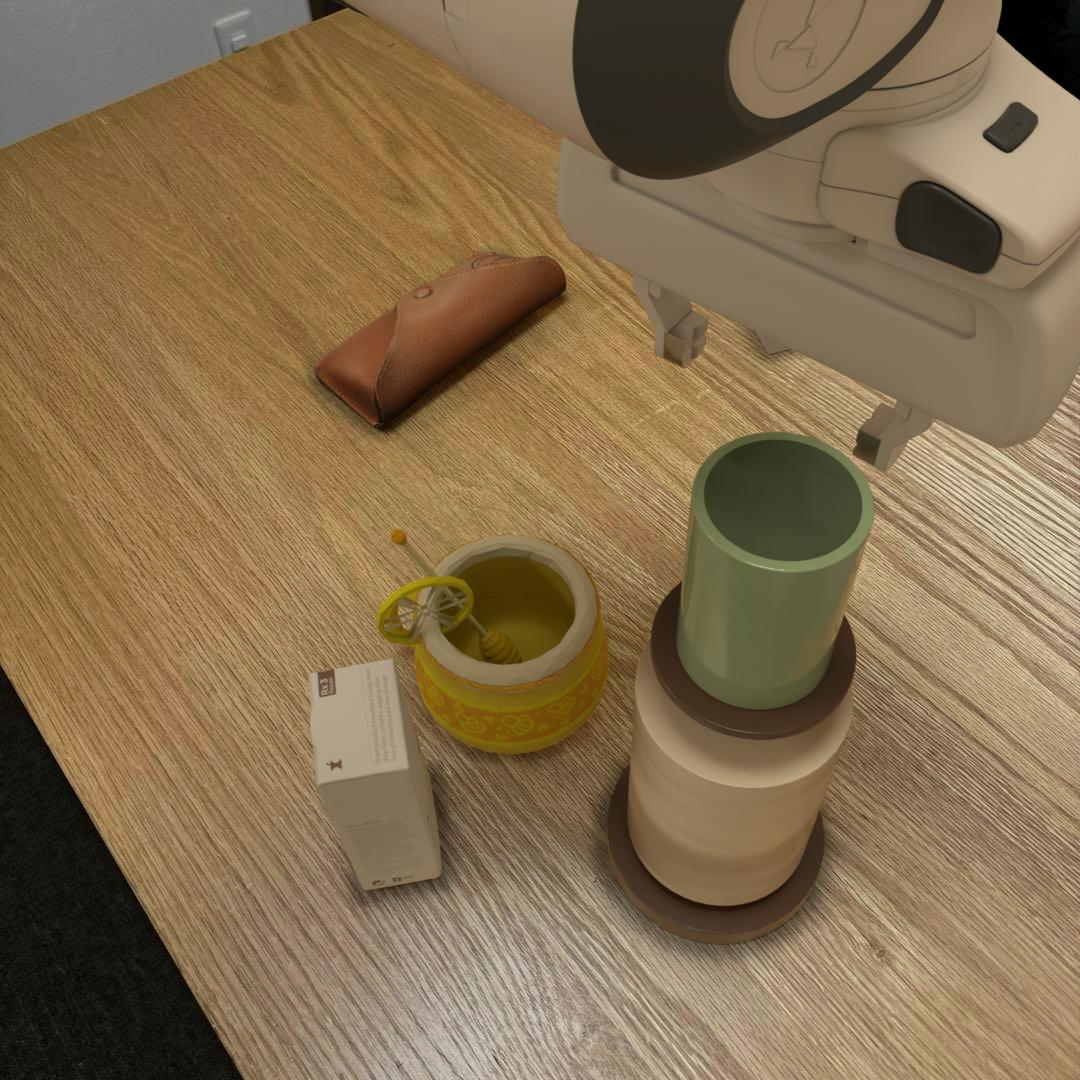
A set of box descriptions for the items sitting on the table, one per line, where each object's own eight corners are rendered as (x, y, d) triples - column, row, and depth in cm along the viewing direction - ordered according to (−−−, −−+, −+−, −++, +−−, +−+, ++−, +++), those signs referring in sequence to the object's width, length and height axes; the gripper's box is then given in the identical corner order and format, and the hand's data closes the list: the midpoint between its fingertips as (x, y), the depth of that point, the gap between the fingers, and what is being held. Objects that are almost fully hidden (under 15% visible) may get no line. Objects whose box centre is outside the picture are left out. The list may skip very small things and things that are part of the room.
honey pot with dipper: (630, 624, 70) (637, 494, 60) (577, 789, 64) (575, 674, 54) (427, 574, 73) (402, 443, 63) (357, 728, 66) (318, 608, 57)
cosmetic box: (445, 878, 61) (418, 772, 51) (358, 895, 61) (314, 791, 51) (429, 770, 65) (402, 652, 55) (347, 785, 64) (304, 669, 55)
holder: (814, 963, 58) (893, 794, 43) (590, 922, 59) (590, 745, 44) (825, 760, 64) (898, 550, 49) (623, 728, 66) (634, 515, 51)
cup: (826, 722, 44) (872, 583, 37) (666, 697, 45) (681, 557, 38) (834, 591, 48) (877, 442, 41) (685, 570, 49) (702, 421, 42)
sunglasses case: (485, 244, 90) (514, 199, 84) (545, 315, 90) (578, 276, 84) (303, 372, 83) (321, 333, 77) (369, 449, 83) (391, 417, 77)
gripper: (512, 37, 40) (528, 340, 51) (1095, 273, 32) (966, 573, 43) (622, -39, 43) (615, 263, 54) (1183, 159, 35) (1042, 468, 46)
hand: (774, 402), depth 49 cm, fingers open, 8 cm apart
